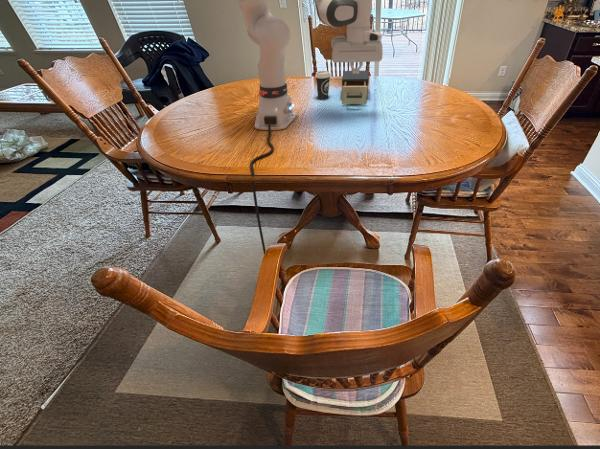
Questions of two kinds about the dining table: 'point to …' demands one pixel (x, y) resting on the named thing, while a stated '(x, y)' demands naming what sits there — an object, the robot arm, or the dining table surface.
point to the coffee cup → (322, 84)
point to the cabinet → (355, 77)
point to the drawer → (354, 92)
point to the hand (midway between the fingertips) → (355, 73)
